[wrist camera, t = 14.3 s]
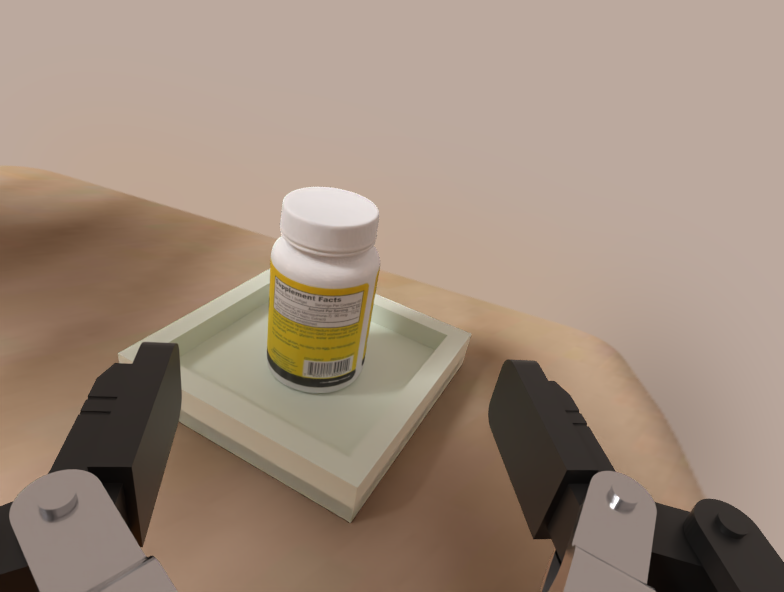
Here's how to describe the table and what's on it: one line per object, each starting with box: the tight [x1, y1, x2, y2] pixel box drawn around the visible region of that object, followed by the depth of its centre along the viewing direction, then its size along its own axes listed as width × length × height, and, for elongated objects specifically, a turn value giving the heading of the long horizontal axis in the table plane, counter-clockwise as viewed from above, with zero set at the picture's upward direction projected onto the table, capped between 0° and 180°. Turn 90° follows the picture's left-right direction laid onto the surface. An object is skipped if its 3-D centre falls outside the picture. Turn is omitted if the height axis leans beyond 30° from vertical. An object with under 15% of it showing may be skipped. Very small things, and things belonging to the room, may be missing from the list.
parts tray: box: [118, 269, 471, 523], centre depth 26 cm, size 12×12×2 cm
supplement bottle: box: [267, 187, 380, 393], centre depth 24 cm, size 5×5×8 cm
